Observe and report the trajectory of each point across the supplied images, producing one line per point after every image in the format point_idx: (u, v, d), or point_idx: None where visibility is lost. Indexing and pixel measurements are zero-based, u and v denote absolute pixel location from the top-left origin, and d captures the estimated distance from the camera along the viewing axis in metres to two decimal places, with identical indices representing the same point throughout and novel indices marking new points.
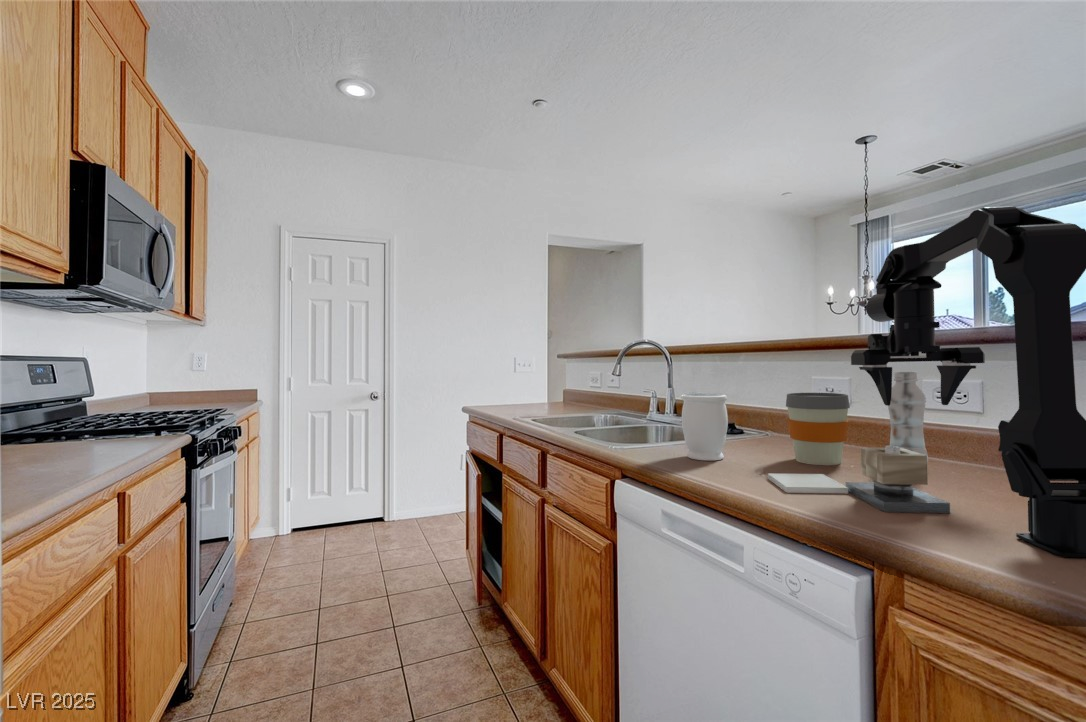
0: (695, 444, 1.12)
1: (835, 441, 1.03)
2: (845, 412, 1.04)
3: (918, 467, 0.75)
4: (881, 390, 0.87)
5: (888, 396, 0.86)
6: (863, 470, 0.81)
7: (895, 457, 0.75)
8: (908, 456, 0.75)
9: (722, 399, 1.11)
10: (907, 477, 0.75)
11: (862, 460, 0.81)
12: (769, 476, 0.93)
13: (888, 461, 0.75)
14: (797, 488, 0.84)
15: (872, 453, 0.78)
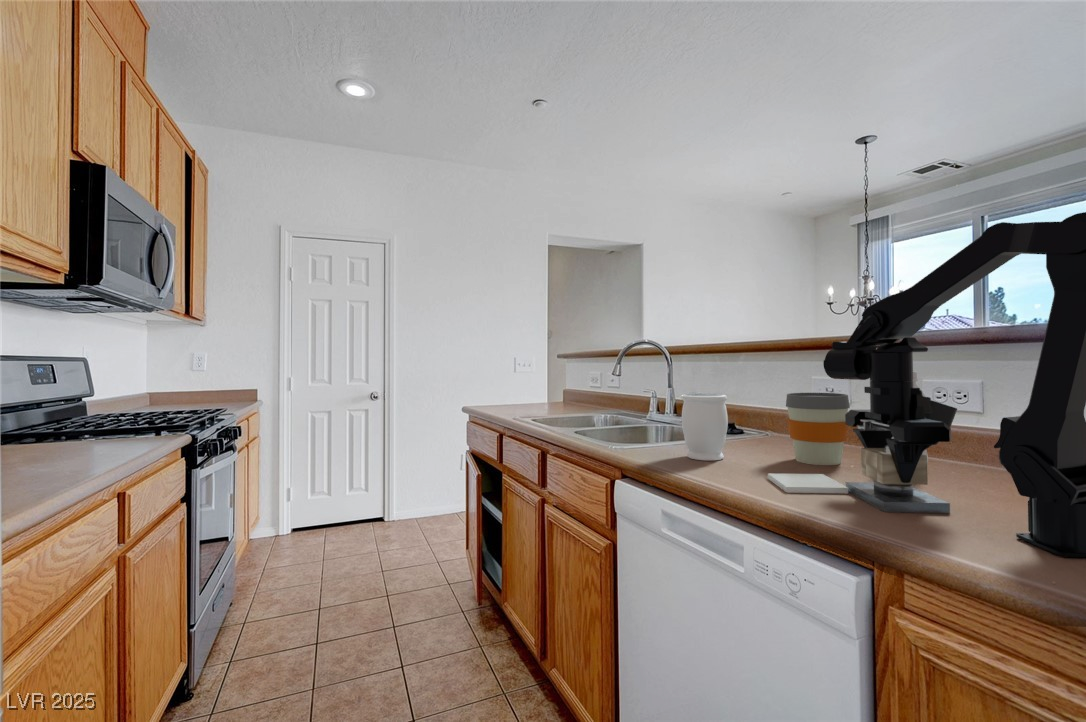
0: (695, 444, 1.12)
1: (835, 441, 1.03)
2: (845, 412, 1.04)
3: (918, 467, 0.75)
4: None
5: None
6: (863, 470, 0.81)
7: None
8: None
9: (722, 399, 1.11)
10: None
11: (862, 460, 0.81)
12: (769, 476, 0.93)
13: (888, 461, 0.75)
14: (797, 488, 0.84)
15: (872, 453, 0.78)
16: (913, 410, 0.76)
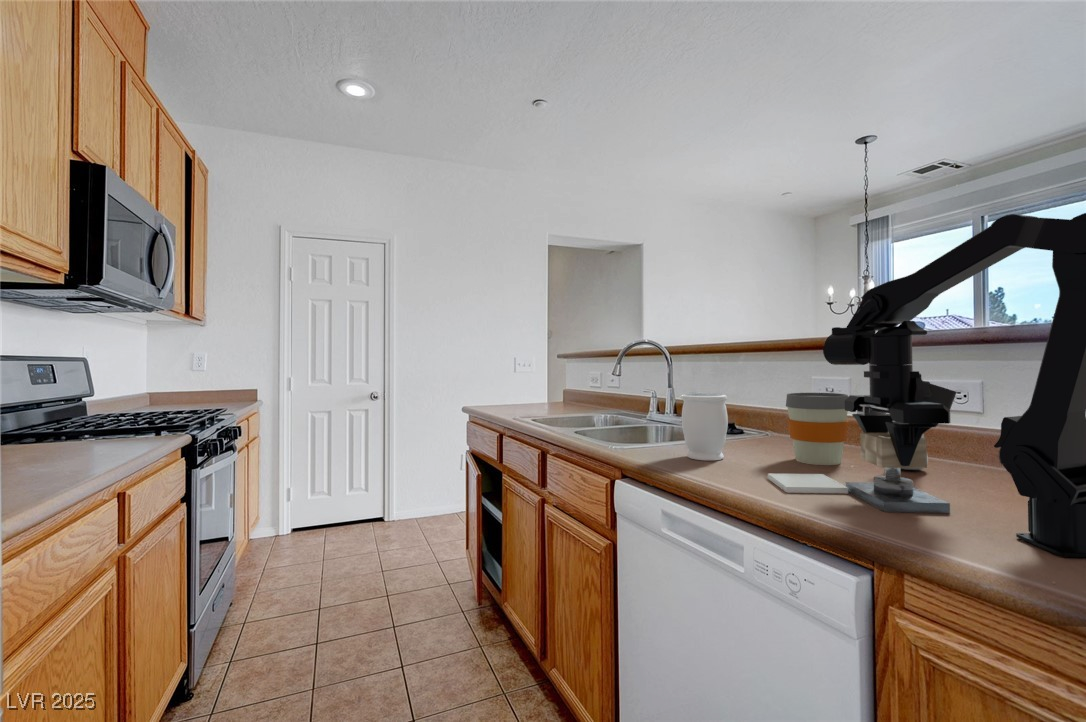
0: (695, 444, 1.12)
1: (835, 441, 1.03)
2: (845, 412, 1.04)
3: (917, 450, 0.75)
4: None
5: None
6: (862, 455, 0.81)
7: None
8: None
9: (722, 399, 1.11)
10: None
11: (862, 444, 0.81)
12: (769, 476, 0.93)
13: (887, 444, 0.75)
14: (797, 488, 0.84)
15: (871, 437, 0.78)
16: (912, 393, 0.76)
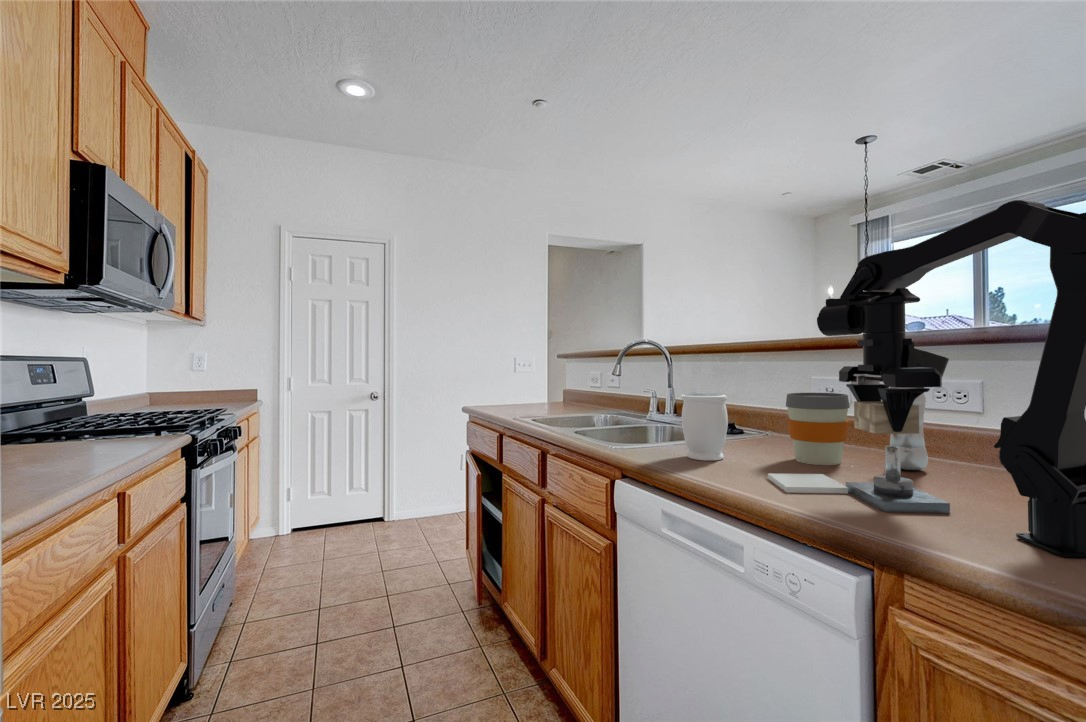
0: (695, 444, 1.12)
1: (835, 441, 1.03)
2: (845, 412, 1.04)
3: (910, 416, 0.75)
4: None
5: None
6: (856, 423, 0.82)
7: None
8: None
9: (722, 399, 1.11)
10: None
11: (856, 413, 0.82)
12: (769, 476, 0.93)
13: (880, 411, 0.76)
14: (797, 488, 0.84)
15: (865, 405, 0.79)
16: (905, 360, 0.77)
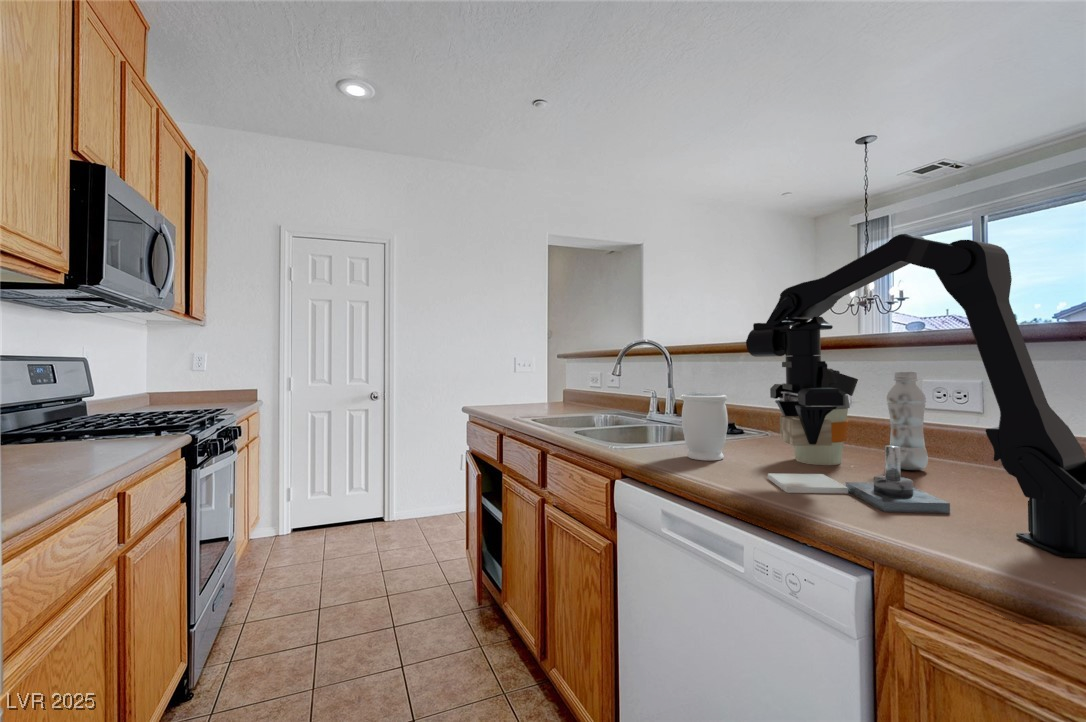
0: (695, 444, 1.12)
1: (835, 441, 1.03)
2: (845, 412, 1.04)
3: (823, 430, 0.85)
4: None
5: None
6: (781, 436, 0.91)
7: None
8: None
9: (722, 399, 1.11)
10: None
11: (781, 426, 0.91)
12: (769, 476, 0.93)
13: (797, 425, 0.86)
14: (797, 488, 0.84)
15: (786, 419, 0.88)
16: (820, 381, 0.86)
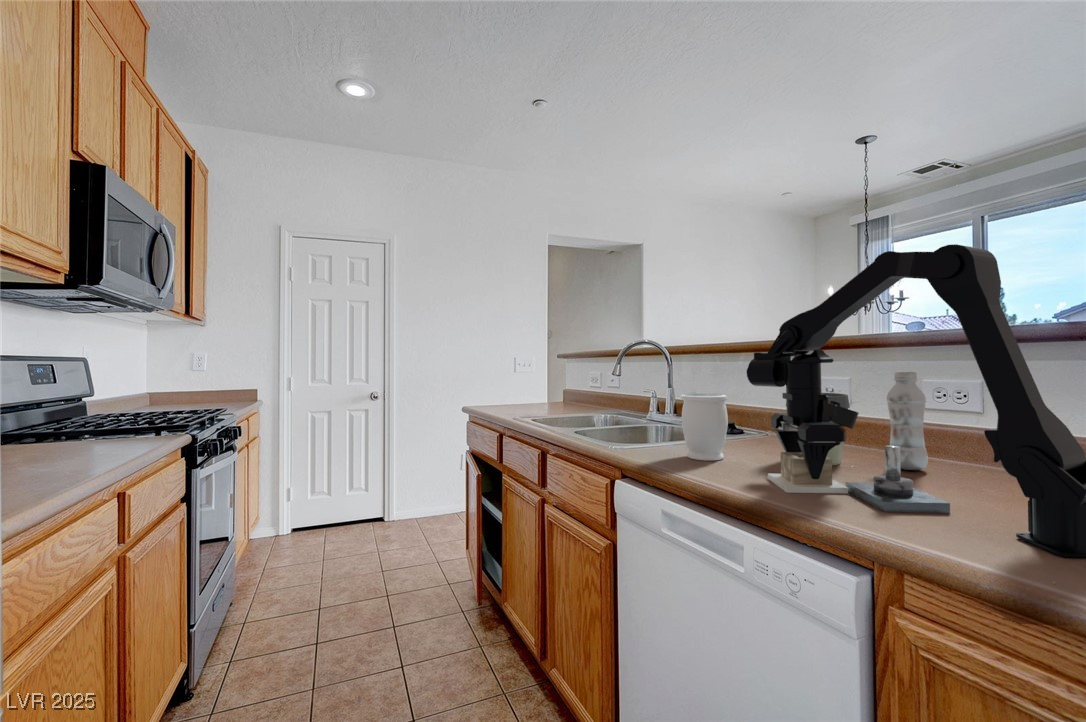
0: (695, 444, 1.12)
1: None
2: None
3: (824, 469, 0.85)
4: None
5: None
6: (782, 472, 0.91)
7: (804, 461, 0.85)
8: None
9: (722, 399, 1.11)
10: None
11: (781, 463, 0.91)
12: (769, 476, 0.93)
13: (798, 464, 0.86)
14: (797, 488, 0.84)
15: (787, 457, 0.88)
16: (820, 414, 0.86)
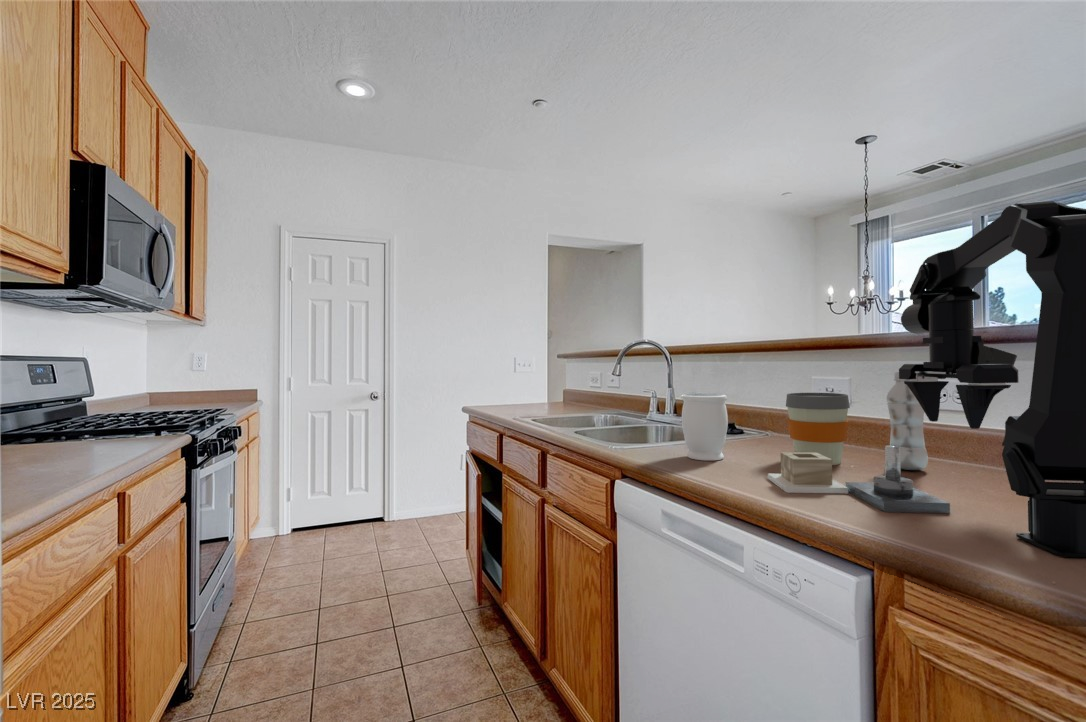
0: (695, 444, 1.12)
1: (835, 441, 1.03)
2: (845, 412, 1.04)
3: (824, 469, 0.85)
4: None
5: (925, 411, 0.85)
6: (782, 472, 0.91)
7: (804, 461, 0.85)
8: (815, 460, 0.85)
9: (722, 399, 1.11)
10: (815, 478, 0.85)
11: (781, 463, 0.91)
12: (769, 476, 0.93)
13: (798, 464, 0.86)
14: (797, 488, 0.84)
15: (787, 457, 0.88)
16: (974, 357, 0.78)
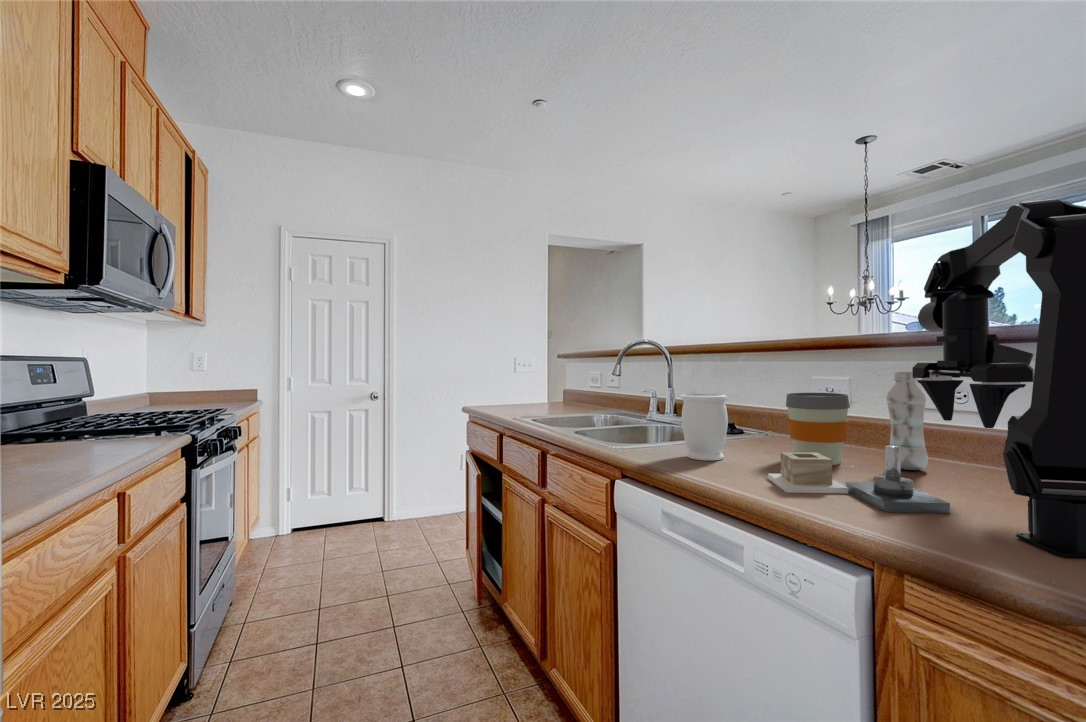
0: (695, 444, 1.12)
1: (835, 441, 1.03)
2: (845, 412, 1.04)
3: (824, 469, 0.85)
4: None
5: (939, 410, 0.84)
6: (782, 472, 0.91)
7: (804, 461, 0.85)
8: (815, 460, 0.85)
9: (722, 399, 1.11)
10: (815, 478, 0.85)
11: (781, 463, 0.91)
12: (769, 476, 0.93)
13: (798, 464, 0.86)
14: (797, 488, 0.84)
15: (787, 457, 0.88)
16: (989, 356, 0.77)
